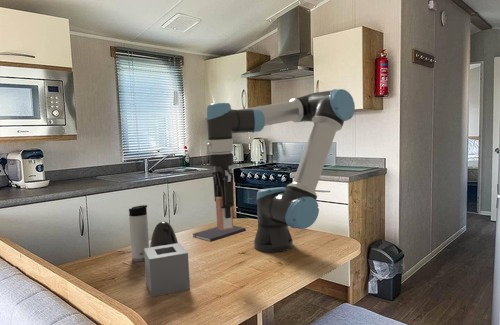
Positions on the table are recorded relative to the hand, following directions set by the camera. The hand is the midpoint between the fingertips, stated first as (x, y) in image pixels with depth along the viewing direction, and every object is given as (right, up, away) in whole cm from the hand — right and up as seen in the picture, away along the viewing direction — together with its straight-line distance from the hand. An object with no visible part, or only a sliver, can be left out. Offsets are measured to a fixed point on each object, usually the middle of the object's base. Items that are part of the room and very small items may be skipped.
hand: (225, 225), depth 120 cm
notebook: (-6, -12, +50) cm, 52 cm away
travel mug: (-32, -16, +19) cm, 40 cm away
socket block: (-17, -17, -7) cm, 25 cm away
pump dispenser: (-22, -16, +12) cm, 30 cm away
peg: (0, -1, 0) cm, 1 cm away
